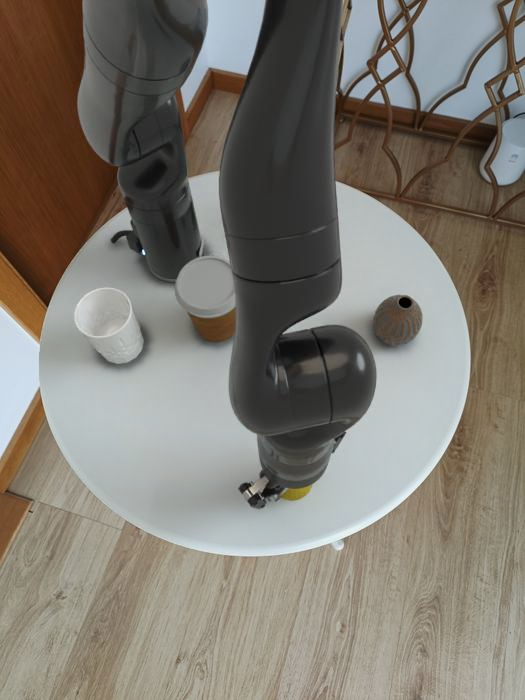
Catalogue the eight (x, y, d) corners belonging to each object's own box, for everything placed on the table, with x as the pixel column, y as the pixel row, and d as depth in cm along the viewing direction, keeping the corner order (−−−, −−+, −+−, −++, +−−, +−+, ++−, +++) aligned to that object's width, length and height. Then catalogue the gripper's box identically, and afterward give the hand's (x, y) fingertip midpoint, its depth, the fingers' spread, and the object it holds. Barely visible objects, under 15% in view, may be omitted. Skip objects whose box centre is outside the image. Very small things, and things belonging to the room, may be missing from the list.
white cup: (158, 342, 82) (143, 310, 73) (119, 377, 79) (98, 348, 70) (124, 312, 84) (106, 277, 75) (85, 345, 82) (62, 313, 73)
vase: (423, 325, 82) (439, 295, 74) (403, 360, 79) (417, 332, 71) (382, 304, 83) (393, 273, 76) (362, 338, 81) (371, 309, 73)
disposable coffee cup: (174, 319, 83) (159, 276, 73) (224, 287, 86) (216, 241, 75) (209, 363, 80) (199, 325, 69) (260, 328, 82) (257, 286, 71)
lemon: (307, 509, 70) (311, 498, 63) (266, 501, 71) (265, 488, 64) (314, 468, 73) (318, 453, 65) (274, 460, 73) (274, 444, 66)
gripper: (326, 374, 57) (316, 424, 72) (214, 456, 53) (229, 490, 68) (374, 429, 54) (353, 468, 69) (260, 518, 50) (264, 539, 66)
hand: (291, 479), depth 69 cm, fingers closed on lemon, 5 cm apart
